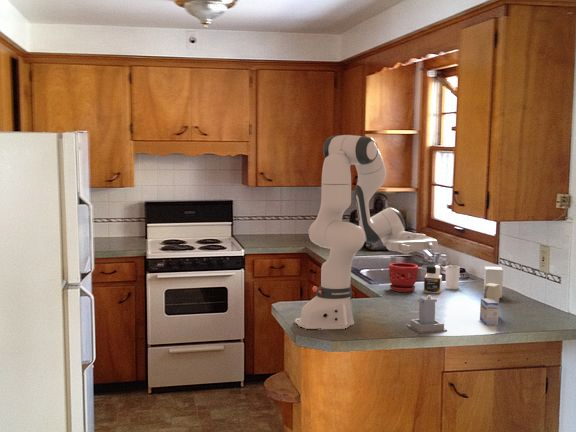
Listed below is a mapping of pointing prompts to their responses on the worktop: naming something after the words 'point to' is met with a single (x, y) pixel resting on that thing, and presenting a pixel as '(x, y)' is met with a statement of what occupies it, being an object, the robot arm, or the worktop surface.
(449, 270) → the drinking glass
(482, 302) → the medicine box
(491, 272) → the supplement box
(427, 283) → the medicine bottle
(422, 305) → the block
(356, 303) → the worktop surface
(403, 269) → the plant pot
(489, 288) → the box
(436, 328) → the pocket plate
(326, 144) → the robot arm
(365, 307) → the worktop surface
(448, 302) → the worktop surface
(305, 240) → the worktop surface
